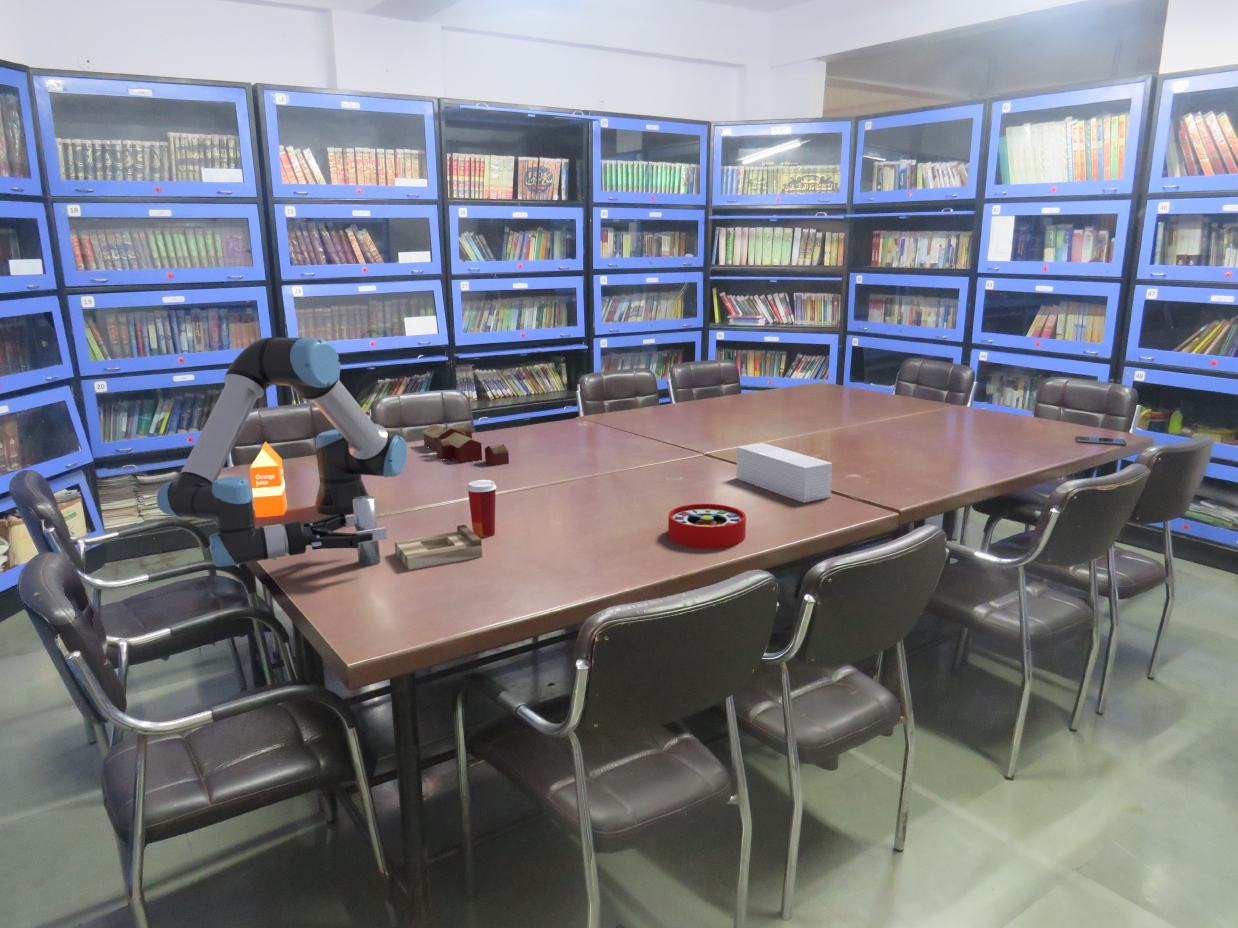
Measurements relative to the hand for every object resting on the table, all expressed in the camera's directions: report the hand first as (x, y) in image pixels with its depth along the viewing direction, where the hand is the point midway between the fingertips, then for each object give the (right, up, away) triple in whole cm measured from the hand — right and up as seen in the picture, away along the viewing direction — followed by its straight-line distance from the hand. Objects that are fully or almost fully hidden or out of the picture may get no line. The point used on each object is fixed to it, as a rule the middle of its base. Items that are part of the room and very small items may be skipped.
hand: (379, 524), depth 200 cm
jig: (+13, -8, +5) cm, 16 cm away
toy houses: (+1, +18, +107) cm, 109 cm away
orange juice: (-43, +1, +42) cm, 60 cm away
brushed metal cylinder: (-3, -9, +1) cm, 10 cm away
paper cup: (+22, -4, +20) cm, 30 cm away
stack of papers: (+108, +7, +60) cm, 124 cm away
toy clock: (+80, -4, +17) cm, 82 cm away
